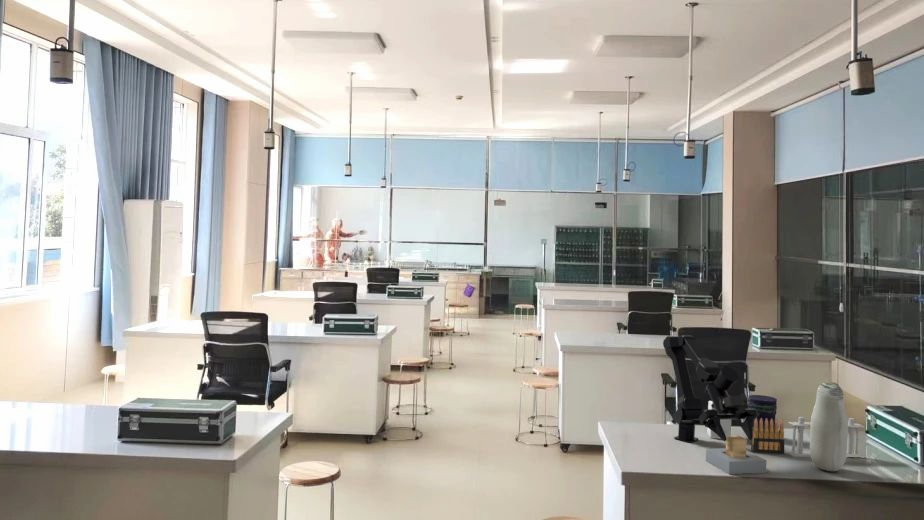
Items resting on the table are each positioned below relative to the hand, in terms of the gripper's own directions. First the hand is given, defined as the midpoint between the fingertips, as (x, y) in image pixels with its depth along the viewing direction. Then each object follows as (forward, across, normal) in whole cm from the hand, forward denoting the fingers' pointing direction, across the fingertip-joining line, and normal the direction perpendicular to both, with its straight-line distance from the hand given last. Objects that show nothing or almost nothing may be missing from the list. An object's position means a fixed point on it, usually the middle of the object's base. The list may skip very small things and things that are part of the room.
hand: (738, 440), depth 212 cm
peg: (+5, 0, +7) cm, 9 cm away
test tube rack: (0, +40, +13) cm, 42 cm away
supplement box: (-18, +15, +31) cm, 39 cm away
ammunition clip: (-4, +21, +17) cm, 27 cm away
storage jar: (-16, +31, +29) cm, 46 cm away
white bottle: (+10, +29, +3) cm, 31 cm away
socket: (+6, 0, +7) cm, 9 cm away
